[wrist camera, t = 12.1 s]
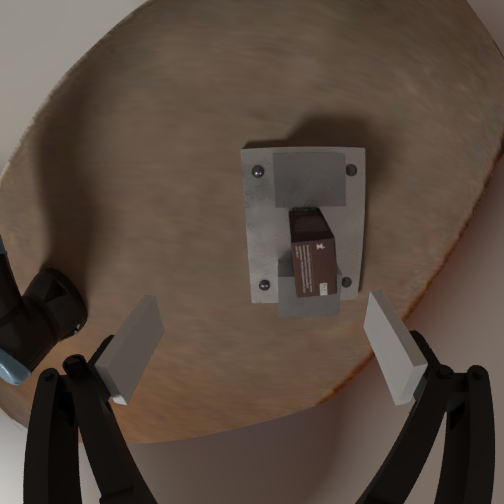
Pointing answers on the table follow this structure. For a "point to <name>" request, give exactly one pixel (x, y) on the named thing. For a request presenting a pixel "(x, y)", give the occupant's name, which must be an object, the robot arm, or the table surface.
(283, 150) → the wall mount bracket
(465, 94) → the table surface
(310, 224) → the box
